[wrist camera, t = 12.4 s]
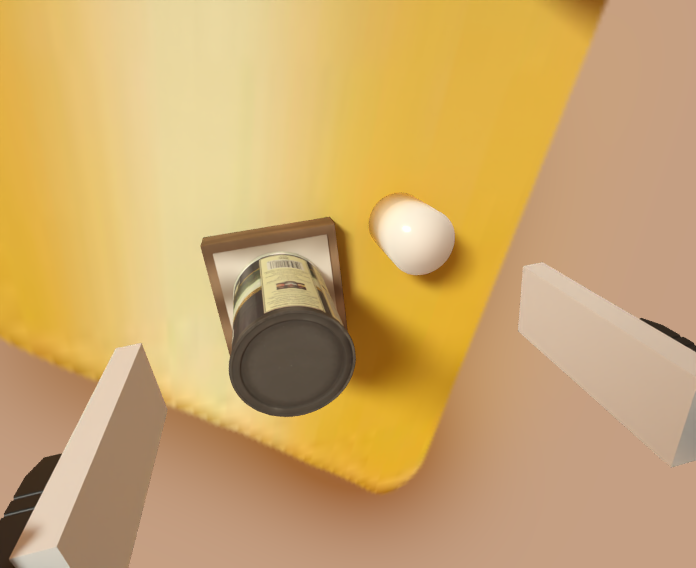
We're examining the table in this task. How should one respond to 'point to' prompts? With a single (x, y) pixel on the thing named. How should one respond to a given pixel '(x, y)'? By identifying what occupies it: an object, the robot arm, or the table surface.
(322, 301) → the coffee can
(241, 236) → the picture frame
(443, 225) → the cream egg shape
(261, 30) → the table surface
